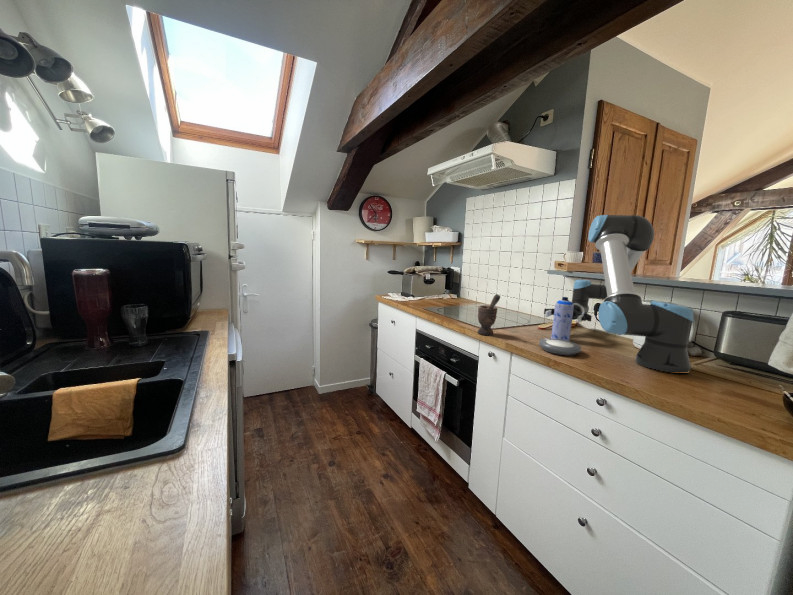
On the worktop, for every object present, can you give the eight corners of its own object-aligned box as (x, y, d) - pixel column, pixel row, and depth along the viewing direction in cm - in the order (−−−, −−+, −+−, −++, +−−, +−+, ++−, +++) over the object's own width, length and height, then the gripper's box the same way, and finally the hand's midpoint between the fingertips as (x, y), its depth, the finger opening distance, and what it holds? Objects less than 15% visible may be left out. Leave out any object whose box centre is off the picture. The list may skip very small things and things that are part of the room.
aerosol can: (573, 341, 139) (579, 298, 136) (560, 343, 136) (566, 298, 133) (559, 337, 146) (564, 295, 143) (546, 338, 144) (551, 295, 141)
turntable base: (582, 354, 121) (583, 351, 121) (560, 357, 117) (561, 353, 117) (556, 345, 132) (557, 342, 132) (536, 347, 128) (536, 344, 128)
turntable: (589, 351, 120) (590, 347, 120) (561, 354, 115) (562, 350, 115) (556, 340, 134) (557, 337, 134) (530, 343, 128) (531, 339, 128)
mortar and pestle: (504, 336, 143) (508, 294, 140) (493, 339, 138) (497, 295, 135) (483, 330, 152) (487, 290, 149) (472, 332, 147) (475, 291, 144)
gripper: (602, 323, 147) (592, 330, 132) (547, 314, 164) (532, 319, 148) (604, 308, 146) (594, 313, 131) (548, 300, 163) (534, 304, 147)
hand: (561, 316), depth 139 cm, fingers open, 13 cm apart
